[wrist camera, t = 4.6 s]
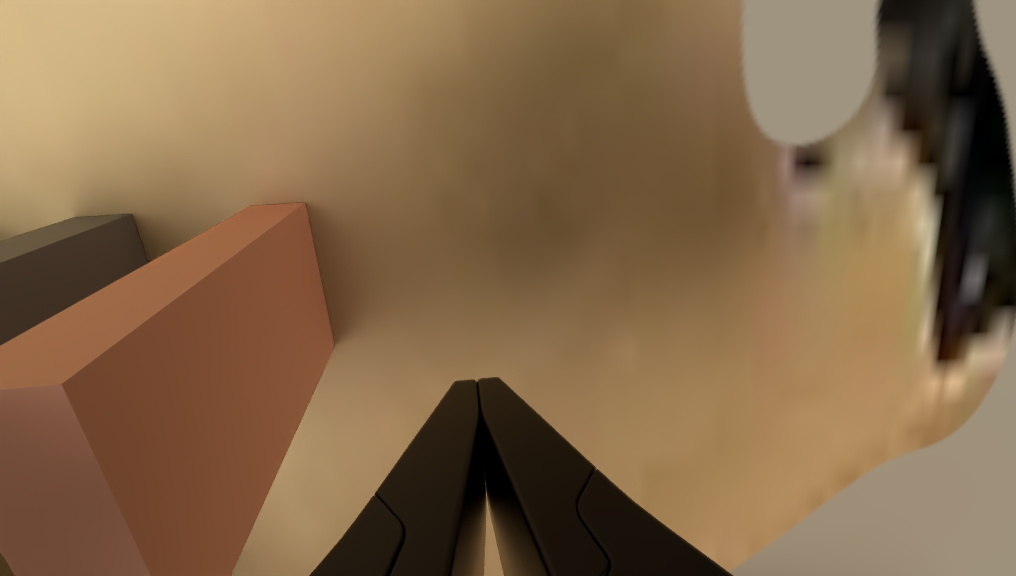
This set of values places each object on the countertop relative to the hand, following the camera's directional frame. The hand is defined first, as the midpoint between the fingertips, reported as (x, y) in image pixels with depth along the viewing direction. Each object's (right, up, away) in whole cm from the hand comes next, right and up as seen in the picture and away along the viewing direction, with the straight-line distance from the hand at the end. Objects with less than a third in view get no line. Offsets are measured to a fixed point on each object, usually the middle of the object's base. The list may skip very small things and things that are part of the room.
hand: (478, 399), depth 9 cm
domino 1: (-6, +2, +6) cm, 9 cm away
